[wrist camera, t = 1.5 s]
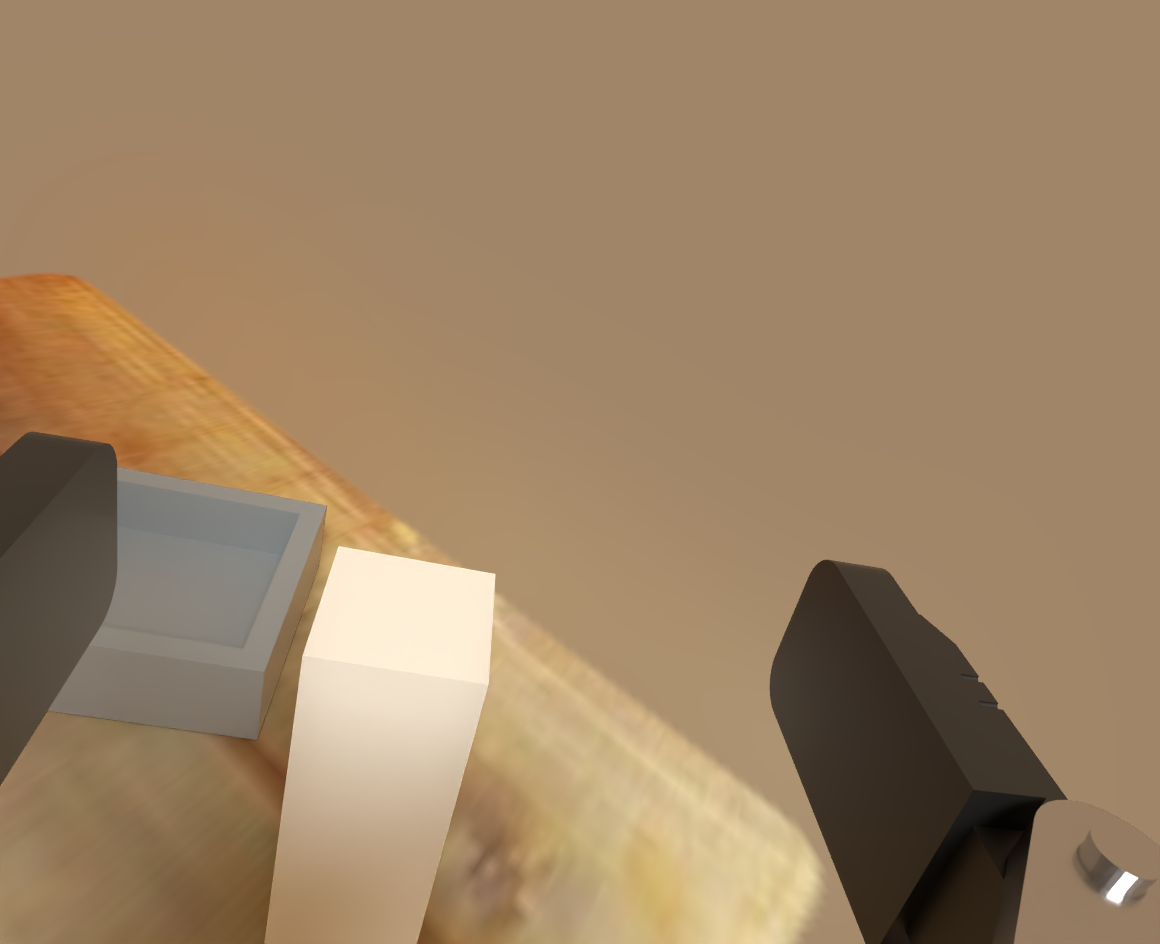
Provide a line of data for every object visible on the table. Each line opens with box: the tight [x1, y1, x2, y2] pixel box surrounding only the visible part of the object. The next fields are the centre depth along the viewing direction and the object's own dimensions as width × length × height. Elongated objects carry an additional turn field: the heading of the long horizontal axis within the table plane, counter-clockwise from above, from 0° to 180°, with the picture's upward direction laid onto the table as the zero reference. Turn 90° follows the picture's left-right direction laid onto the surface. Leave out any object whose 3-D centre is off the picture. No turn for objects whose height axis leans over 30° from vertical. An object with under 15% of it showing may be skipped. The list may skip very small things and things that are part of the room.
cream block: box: [264, 546, 495, 944], centre depth 26 cm, size 4×4×12 cm
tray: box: [48, 467, 327, 740], centre depth 36 cm, size 11×11×4 cm
